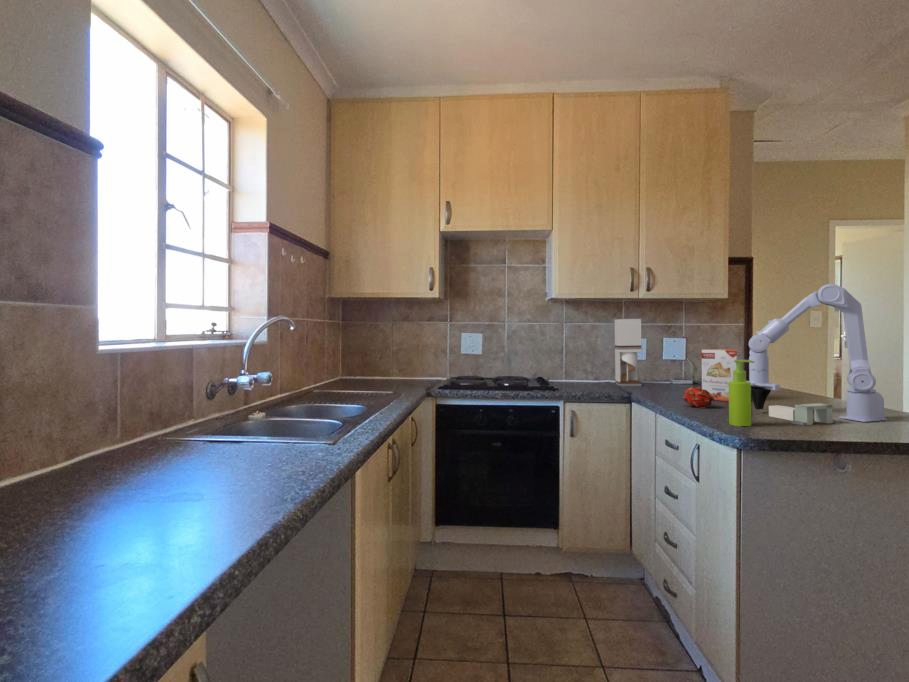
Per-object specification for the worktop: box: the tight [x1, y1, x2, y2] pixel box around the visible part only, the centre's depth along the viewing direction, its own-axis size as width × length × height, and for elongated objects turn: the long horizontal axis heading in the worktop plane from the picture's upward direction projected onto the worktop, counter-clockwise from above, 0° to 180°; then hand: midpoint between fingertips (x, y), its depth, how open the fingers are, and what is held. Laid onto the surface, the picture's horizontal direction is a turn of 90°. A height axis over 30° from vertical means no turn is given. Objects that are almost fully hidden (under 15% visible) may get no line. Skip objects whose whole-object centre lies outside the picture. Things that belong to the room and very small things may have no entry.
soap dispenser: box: [728, 359, 755, 427], centre depth 152 cm, size 6×7×20 cm
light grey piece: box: [614, 318, 643, 387], centre depth 263 cm, size 11×11×35 cm
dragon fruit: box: [682, 385, 715, 409], centre depth 187 cm, size 8×8×12 cm
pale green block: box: [790, 402, 837, 427], centre depth 152 cm, size 13×4×6 cm, turn 105°
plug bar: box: [768, 404, 795, 421], centre depth 161 cm, size 4×10×4 cm, turn 15°
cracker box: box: [701, 348, 744, 402], centre depth 203 cm, size 14×6×21 cm, turn 38°
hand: (759, 409), depth 172 cm, fingers closed
